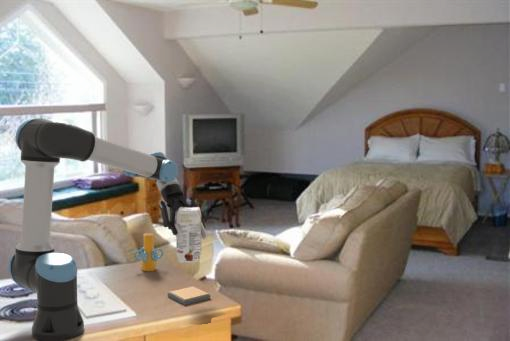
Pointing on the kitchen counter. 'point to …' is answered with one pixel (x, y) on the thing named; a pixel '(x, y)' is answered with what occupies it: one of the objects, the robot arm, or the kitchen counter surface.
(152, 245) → the yellow and blue piece
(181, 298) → the board
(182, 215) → the juice carton
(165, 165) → the robot arm
